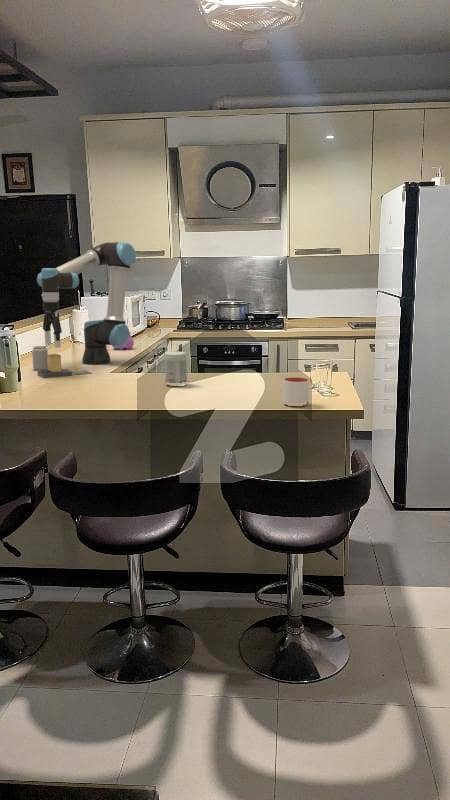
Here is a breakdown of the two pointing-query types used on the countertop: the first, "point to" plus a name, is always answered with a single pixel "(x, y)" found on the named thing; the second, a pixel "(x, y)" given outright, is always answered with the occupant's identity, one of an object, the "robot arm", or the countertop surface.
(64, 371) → the dark grey flat slab
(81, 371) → the rubber pad
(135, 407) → the countertop surface
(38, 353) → the can
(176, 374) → the supplement tub
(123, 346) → the teapot
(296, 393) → the cup
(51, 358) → the nut block
